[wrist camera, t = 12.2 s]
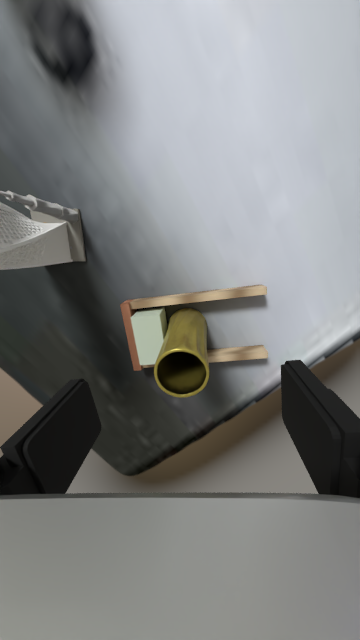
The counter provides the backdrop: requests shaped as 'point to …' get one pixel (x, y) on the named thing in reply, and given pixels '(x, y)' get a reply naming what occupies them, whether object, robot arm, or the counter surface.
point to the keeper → (149, 333)
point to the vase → (183, 355)
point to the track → (214, 354)
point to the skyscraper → (39, 234)
